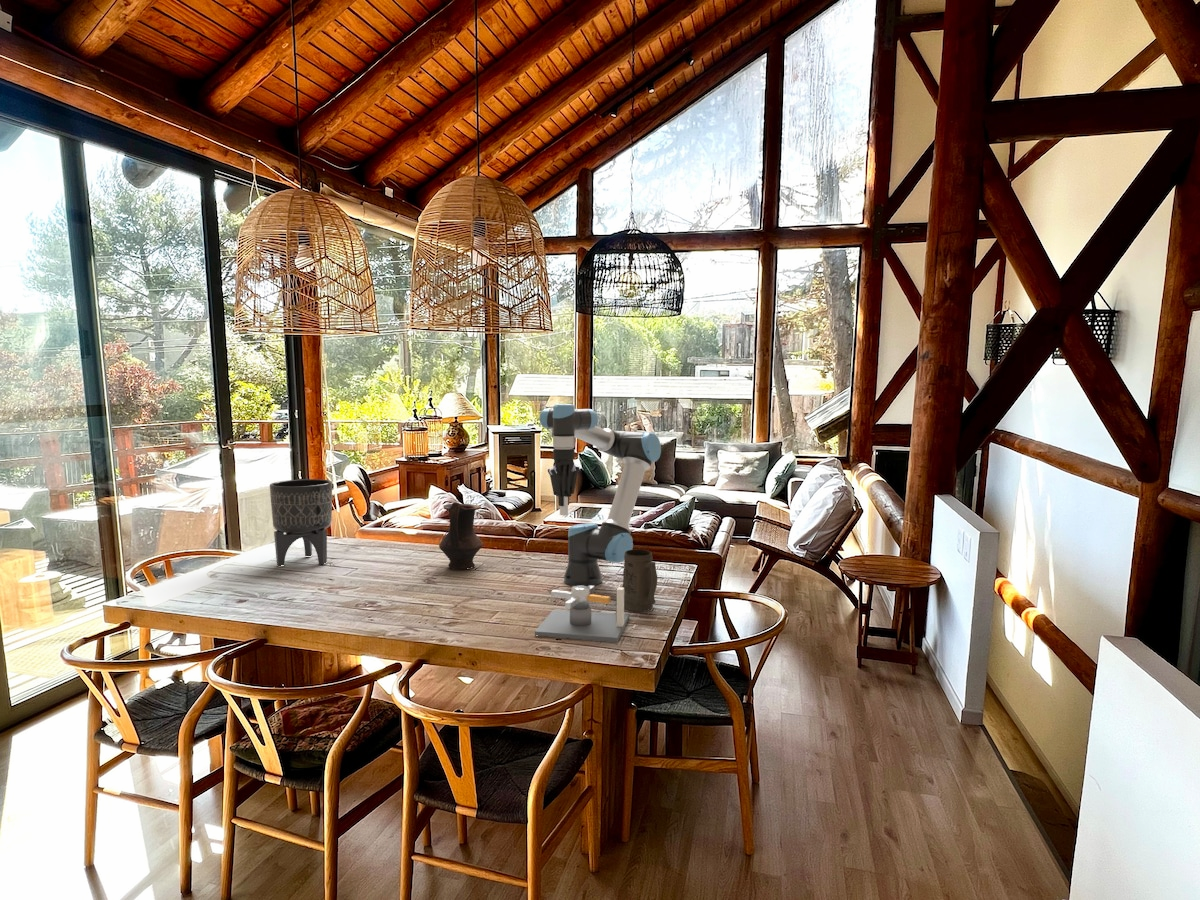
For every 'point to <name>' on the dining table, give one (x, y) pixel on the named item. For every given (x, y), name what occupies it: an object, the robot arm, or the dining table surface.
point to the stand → (586, 623)
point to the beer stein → (639, 580)
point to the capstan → (580, 597)
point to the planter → (301, 515)
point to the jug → (461, 536)
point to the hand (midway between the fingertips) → (563, 514)
